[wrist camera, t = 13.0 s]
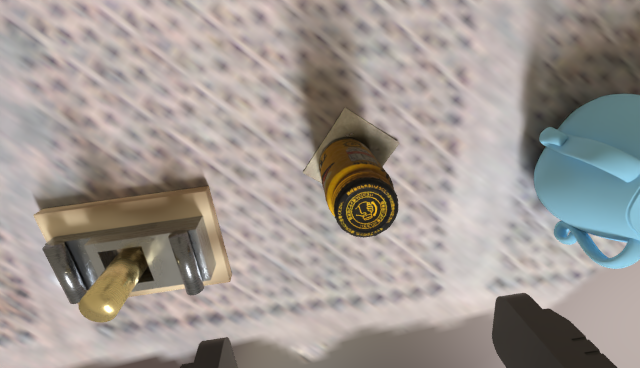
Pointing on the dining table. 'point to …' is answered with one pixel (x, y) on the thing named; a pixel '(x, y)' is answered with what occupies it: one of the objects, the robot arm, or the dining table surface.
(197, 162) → the dining table surface
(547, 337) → the robot arm
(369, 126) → the condiment
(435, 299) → the dining table surface
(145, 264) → the brass pin
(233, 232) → the dining table surface
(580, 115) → the decorative pot
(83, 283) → the clamp block fixture
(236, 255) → the dining table surface
